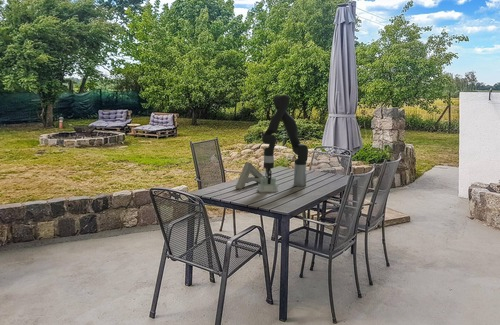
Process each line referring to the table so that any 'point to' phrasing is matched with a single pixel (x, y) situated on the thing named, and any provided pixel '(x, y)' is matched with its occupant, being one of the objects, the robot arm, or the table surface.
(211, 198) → the table surface
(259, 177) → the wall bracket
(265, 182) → the tapered block
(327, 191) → the table surface
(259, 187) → the rail
